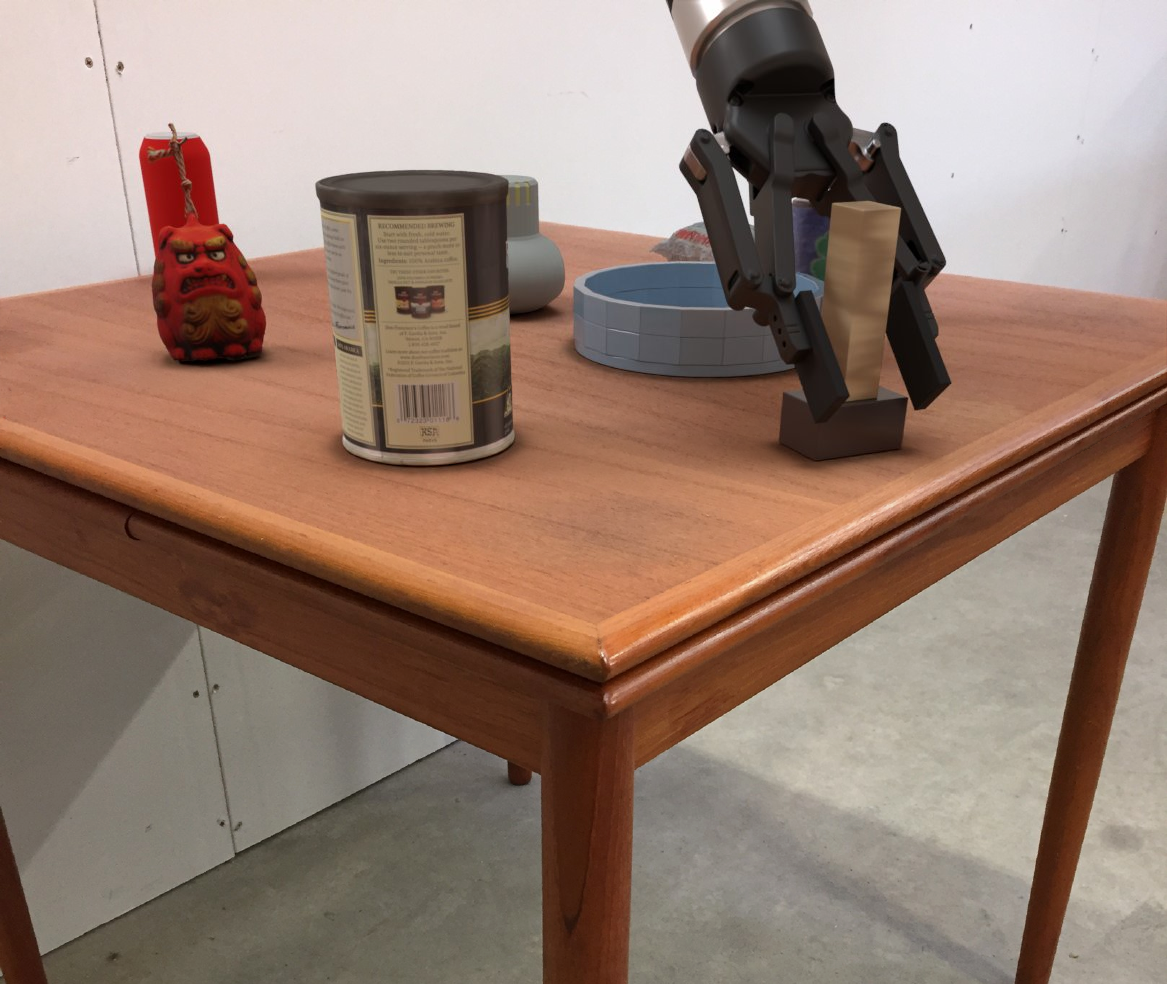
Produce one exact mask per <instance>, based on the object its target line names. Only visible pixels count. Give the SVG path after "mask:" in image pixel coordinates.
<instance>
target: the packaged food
mask: <svg viewBox="0 0 1167 984" xmlns="http://www.w3.org/2000/svg"><path fill="white" fill-rule="evenodd" d="M749 225H750V229H751V232H752V236H753V239H754V242H755V234H754V224H750V223H749ZM648 252H649V253H655V254H657V255H661V256H662V257H663V258H665V259H666V262H673V261H697V262H715V260H714V256H713V253H712V249H711V245H710V242H709V238H708V235H707V231H706V228H705V224H704V221H699V222H695V223H693V224H690V225H688V226H685V227H684V226H683V228H679V229H677V230H676V231H674V232H673V233H672V234H671V235H670V237H669V238H667V239H666V238H664V239H663V240H661V241H659V242H658V243H657V244H654V246H653V247H650V248H649V250H648Z"/></svg>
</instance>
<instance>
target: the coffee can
mask: <svg viewBox="0 0 1167 984" xmlns="http://www.w3.org/2000/svg"><path fill="white" fill-rule="evenodd" d="M499 175H500V174H494V173H488V172H479V171H470V170H469V171H467V170H453V169H450V170H449V169H399V170H398V169H397V170H395V169H394V170H375V171H361V172H352V173H344V174H338V175H332V176H327V177H324V178H321V179H319V180H317V181H316V182H315V183H314V186H315V187H314V188H315V195H316V197H317V199H318V201H319V209H320V219H321V220H320V221H321V228H322V238H323V239H322V240H323V248H324V258H325V267H326V277H327V278H326V279H327V287H328V297H329V307H330V316H331V327H332V337H333V346H334V356H335V366H336V375H337V385H338V386H337V387H338V395H339V397H338V398H339V407H340V417H341V425H342V426H341V429H342V438H341V439H342V445H343V447H344V448H345V450H347V452H349V453H350V454H352V455H354V456H357V457H359V458H362V459H365V460H368V461H372V462H378V463H383V464H389V465H395V466H396V465H397V466H441V465H449V464H450V465H451V464H459V463H465V462H471V461H476V460H479V459H483V458H487V457H490V456H493V455H496V454H499V453H500V452H503V451H504V450H506V449H508V448H509V447H510V446H511V445H512V444H513V443H514V442H515V437H516V434H515V430H514V413H513V412H514V411H513V408H514V407H513V382H512V355H511V354H512V353H511V351H512V349H511V321H510V320H511V317H510V314H509V281H508V276H509V271H508V242H507V195H508V189H509V182H508V180H507V179H506V178H504V177H502V176H499Z"/></svg>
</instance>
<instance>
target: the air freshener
mask: <svg viewBox="0 0 1167 984" xmlns="http://www.w3.org/2000/svg"><path fill="white" fill-rule="evenodd" d="M498 175H499V176H502V177H504V178H506V179H507V180H508V182H509V189H508V195H507V242H508V271H509V276H508V281H509V315H513V314H515V315H516V314H523V313H530V312H535V311H537V310H540V309H541V308H544V307H545V306H547V305H548V304H550V303H552V302H553V301H555V299H557V298H558V297H559V296H560V295H561V294H562V293H563V290H564V288H565V283H566V267H565V261H564V258H563V255H562V253H561V250H560V249H559V247H558V245H557V243H556V242H554V241H553V240H552V239H550V238H549V237H547V236H546V235H544V234H542V233H541V232H540V209H539V208H540V206H539V205H540V204H539V202H540V201H539V199H540V198H539V182H538V181H537V180H536V179H535V178H534V177H532V176H528V175H527V176H526V175H518V174H515V175H514V174H498Z"/></svg>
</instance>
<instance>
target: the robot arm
mask: <svg viewBox="0 0 1167 984" xmlns="http://www.w3.org/2000/svg"><path fill="white" fill-rule="evenodd" d="M665 3H666V6H667V9H668V10H669V11H668V12H669V13H670V17H671V19H672V22H673V25H674V27H675V31H676V33H677V37H678V39H679V41H680V44H681V48H682V51H683V54H684V56H685V58H686V62H687V64H688V67H689V70H690V73H691V75H692V77H693V78H694V79H695V87H696V91H697V94H698V96H699V99H700V103H701V105H702V107H703V110H704V113H705V116H706V119H707V122H708V125H709V128H710V130H711V131H710V130H708V129H706V128H698V129H697V130H695V132H694V134H693V136H692V138H691V139H690V141H689V144H688V145H687V148H686V149H685V151H684V153H683V156H682V157H681V160H680V161H679V164H678V169H679V171H680V173H681V174H682V176H683V178H684V179H685V180H686V182H687V184H688V185H689V187H690V188H691V190H692V191H693V193H694V194H695V196H696V199H697V203H698V206H699V210H700V214H701V218H702V220H703V221H702V222H704V224H705V228H706V231H707V235H708V238H709V242H710V245H711V249H712V253H713V256H714V260H715V263H716V267H717V270H718V274H719V277H720V281H721V284H722V288H723V292H724V295H725V299H726V302H727V304H728V306H729V307H730V308H731V309H733V310H735V311H741V310H743V309H744V308H745V307H749V308H753V309H756V310H755V312H754V313H753V315H752V317H753V320H754V322H755V323H756V324H758V325H759V326H762V327H766V326H768V325H769V326H770V329H771V332H772V335H773V337H774V340H775V343H776V346H777V347H778V352H779V354H780V357H781V358H782V360H783V361H784V362H785V364H786V365H789V364H794V366H795V368H794V369H795V372H796V375H797V377H798V380H799V383H800V386H801V389H803V391H804V394H805V397H806V400H807V403H808V405H809V408H810V411H811V414H812V417H813V419H814V422H815V424H818V423H825V422H827V421H828V420H829V419H830V418H831V417H832V416H833V415H834V414H835V412H836V411H837V410H838V409H839V408H840V407H841V406H842V405H843V403H844V402H845V401H846V400H847V399H848V398H849V397H850V394H849V391H848V389H847V386H846V383H845V380H844V378H843V375H842V372H841V369H840V367H839V364H838V361H837V358H836V356H835V353H834V350H833V347H832V345H831V342H830V339H829V336H828V334H827V331H826V328H825V325H824V323H823V320H822V317H821V314H820V312H819V309H818V306H817V303H816V301H815V298H814V295H813V292H812V290H807V291H800V292H799V293H798V294H797V296H796V297H795V296H794V293H793V291H794V290H795V288H796V271H795V252H794V232H793V213H792V202H793V199H796V198H801V199H806V200H809V202H810V203H811V205H812V206H813V207H814V209H815V210H816V212H817V213H818V214H819V215H820V216H822V217H824V216H827V217H828V218H829V219H830V220H831V210H832V204H833V203H842V202H858V201H871V202H876V203H881V204H885V205H890V206H894V207H899V208H901V213H900V221H899V229H898V237H897V245H896V253H895V261H894V269H893V277H892V285H891V293H890V301H889V309H888V317H887V325H886V333H885V336H886V337H887V341H888V343H889V346H890V349H891V351H892V354H893V356H894V360H895V362H896V365H897V367H898V370H899V372H900V376H901V378H902V381H903V383H904V386H905V389H906V391H907V394H908V398H909V400H910V402H911V405H912V407H913V410H914V411H922V410H926V409H927V408H928V407H930V405H931V404H932V403H934V401H936V400H937V398H939V396H940V395H941V394H943V392H945V391H946V390H947V389H948V388H949V387H950V385H951V384H952V380H951V378H950V375H949V373H948V370H947V367H946V365H945V362H944V359H943V357H942V354H941V352H940V348H939V346H938V344H937V341H936V339H937V338H938V337H939V336H940V335H939V333H940V332H939V330H940V329H939V325H938V322H937V320H936V317H935V314H934V313H933V308H932V307H931V304H930V301H929V298H928V296H927V293H926V289H927V288H928V287H929V286H930V285H931V283H933V281H934V280H935V279H936V277H938V275H939V274H940V273H941V271H943V269H944V268H945V267H946V266H947V260H946V256H945V254H944V252H943V250H942V248H941V245H940V243H939V240H938V238H937V237H936V236H937V235H936V234H935V232H934V230H933V228H932V226H931V223H930V221H929V219H928V216H927V215H926V212H925V210H924V208H923V206H922V203H921V201H920V198H919V196H918V194H917V192H916V189H915V188H914V185H913V183H912V181H911V179H910V176H909V174H908V172H907V170H906V168H905V166H904V163H903V161H902V159H901V156H900V147H899V146H900V145H899V137H898V131H897V129H896V128H895V127H896V126H894V125H893V124H891V123H889V122H881V123H880V124H879V126H878V127H877V129H876V130H875V131H869V130H865V129H860V128H857V127H854V126H853V123H852V120H851V119H850V117H849V116H848V115H847V114H846V112H844V111H843V109H842V108H841V107H840V106H839V104H838V102H837V98H836V78H835V76H836V75H835V70H834V67H833V64H832V61H831V58H830V55H829V53H828V51H827V48H826V45H825V43H824V40H823V37H822V34H821V32H820V29H819V26H818V25H817V23H816V21H815V20H814V16H813V15H814V13H813V9H812V7H811V5H810V2H809V0H665ZM735 171H736V172H737V173H738V174H739V175H740V176H742V177H743V178H744V179H745V180H746V182H747V183H748V198H749V199H748V203H749V216H751V217H753V225H754V234H755V242H754V239H753V236H752V232H751V229H750V225H749V224H750V222H749V219H748V215H747V212H746V209H745V206H744V202H743V198H742V194H741V190H740V188H739V184H738V180H737V178H736V174H735ZM898 272H899V275H898V277H897V274H898Z"/></svg>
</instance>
